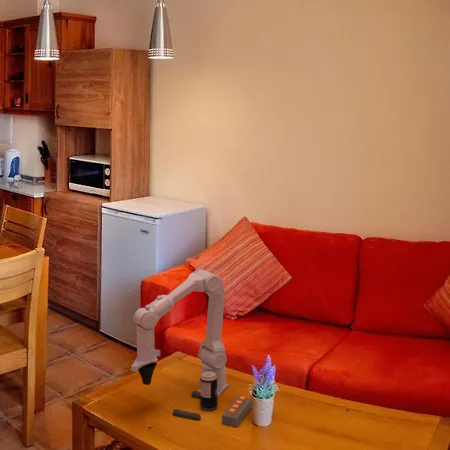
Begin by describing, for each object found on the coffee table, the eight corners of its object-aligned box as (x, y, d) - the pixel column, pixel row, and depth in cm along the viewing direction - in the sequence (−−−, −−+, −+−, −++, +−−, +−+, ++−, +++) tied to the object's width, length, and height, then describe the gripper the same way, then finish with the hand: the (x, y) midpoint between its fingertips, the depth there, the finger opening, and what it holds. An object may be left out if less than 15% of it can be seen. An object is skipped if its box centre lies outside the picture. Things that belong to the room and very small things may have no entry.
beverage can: (218, 410, 204) (218, 377, 202) (201, 412, 203) (201, 378, 201) (215, 402, 210) (215, 369, 207) (199, 404, 209) (199, 370, 207)
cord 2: (192, 394, 216) (192, 389, 215) (218, 400, 212) (218, 394, 212) (190, 397, 214) (190, 392, 214) (216, 402, 210) (216, 397, 210)
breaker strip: (237, 404, 208) (238, 393, 208) (251, 407, 206) (251, 395, 206) (221, 424, 196) (221, 412, 195) (236, 427, 194) (236, 415, 193)
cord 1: (174, 413, 203) (174, 407, 203) (201, 418, 199) (201, 413, 199) (171, 415, 201) (171, 410, 201) (199, 421, 198) (199, 415, 197)
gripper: (144, 354, 192) (145, 395, 195) (167, 339, 205) (168, 377, 208) (125, 351, 195) (126, 391, 198) (149, 335, 208) (150, 373, 211)
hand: (146, 383), depth 203 cm, fingers closed
